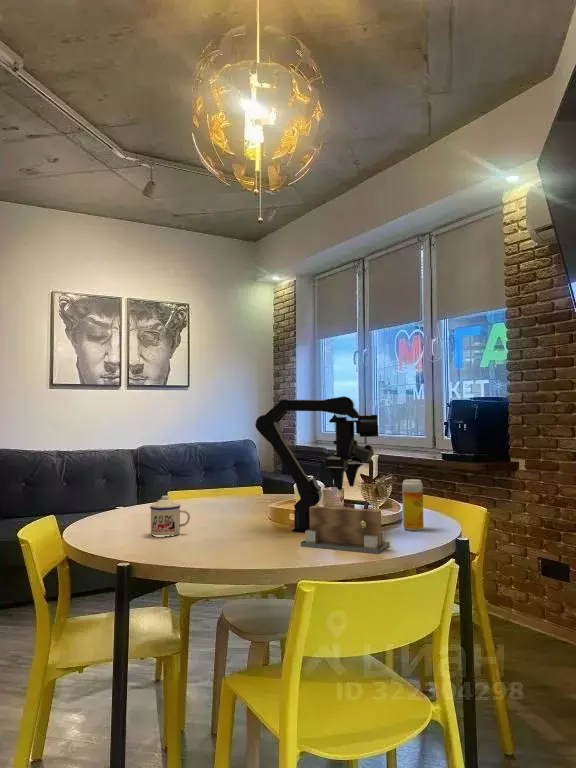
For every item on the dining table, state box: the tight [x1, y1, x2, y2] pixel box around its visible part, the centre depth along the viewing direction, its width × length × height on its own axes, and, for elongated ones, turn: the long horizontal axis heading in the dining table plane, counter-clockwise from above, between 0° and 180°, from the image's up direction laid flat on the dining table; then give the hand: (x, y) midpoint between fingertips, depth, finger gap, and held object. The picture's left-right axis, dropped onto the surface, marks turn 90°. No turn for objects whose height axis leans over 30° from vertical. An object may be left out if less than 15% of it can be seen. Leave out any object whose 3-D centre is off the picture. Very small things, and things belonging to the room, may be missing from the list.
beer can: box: [401, 478, 424, 532], centre depth 182 cm, size 6×6×15 cm
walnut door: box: [309, 505, 382, 546], centre depth 160 cm, size 20×3×9 cm, turn 63°
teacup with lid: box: [149, 495, 191, 536], centre depth 179 cm, size 12×9×12 cm
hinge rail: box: [300, 529, 391, 554], centre depth 161 cm, size 22×10×4 cm, turn 63°
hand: (345, 488), depth 181 cm, fingers open, 9 cm apart
